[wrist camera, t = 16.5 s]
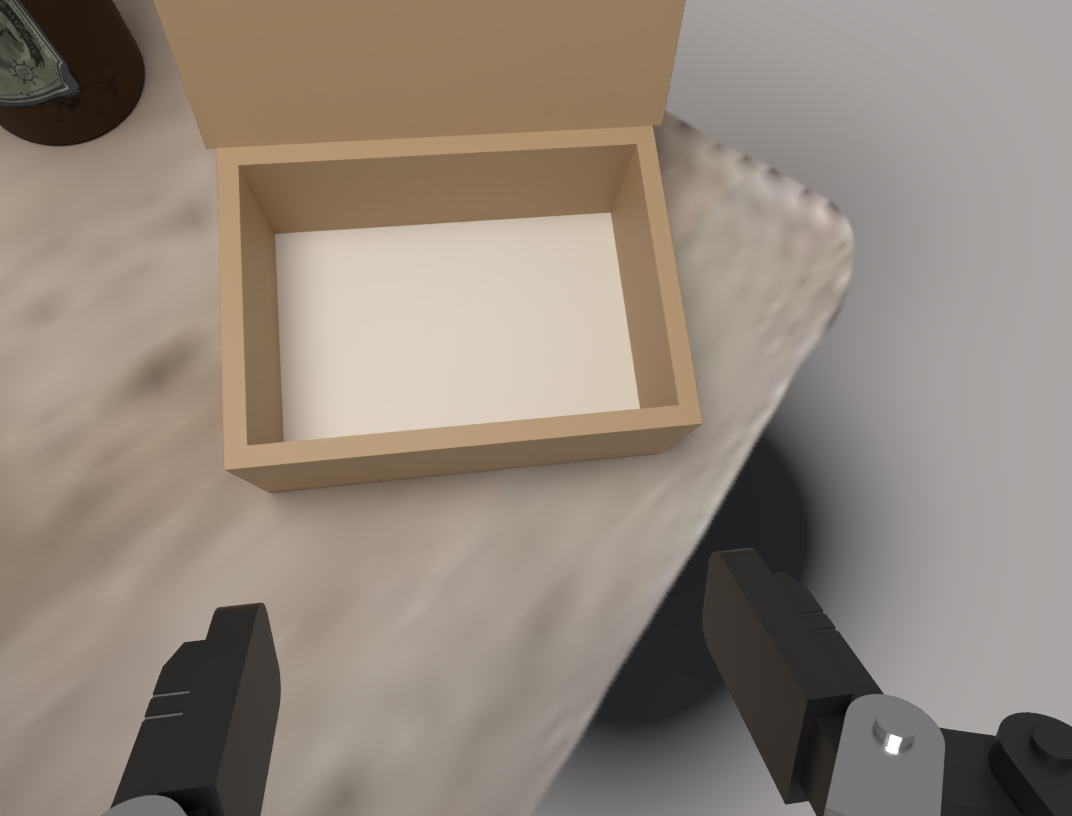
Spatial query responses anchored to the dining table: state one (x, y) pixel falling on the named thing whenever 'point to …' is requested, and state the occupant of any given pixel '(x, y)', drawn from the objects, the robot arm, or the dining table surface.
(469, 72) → the lid
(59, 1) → the olive oil
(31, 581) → the dining table surface
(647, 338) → the mailer box
